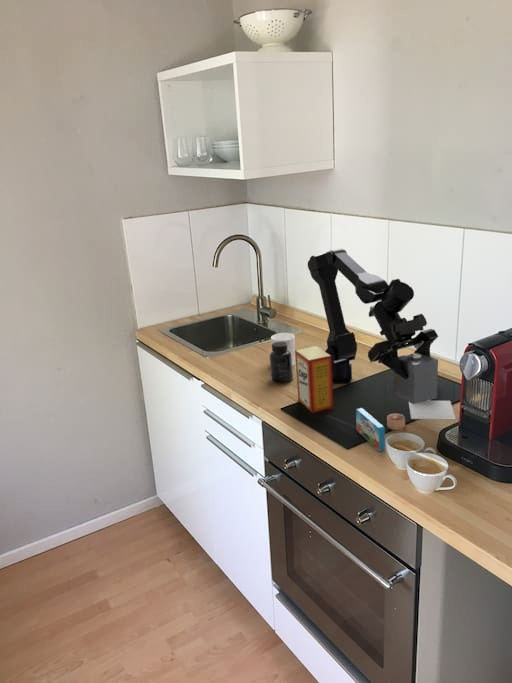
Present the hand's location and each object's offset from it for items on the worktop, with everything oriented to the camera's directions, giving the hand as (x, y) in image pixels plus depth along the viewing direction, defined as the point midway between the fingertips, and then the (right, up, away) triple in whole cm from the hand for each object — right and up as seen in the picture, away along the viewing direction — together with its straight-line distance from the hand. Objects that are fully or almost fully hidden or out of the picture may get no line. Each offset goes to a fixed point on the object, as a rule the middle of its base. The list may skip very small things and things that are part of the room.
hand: (418, 374), depth 143 cm
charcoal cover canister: (0, -6, +3) cm, 6 cm away
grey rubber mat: (+6, -10, +10) cm, 16 cm away
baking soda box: (-24, -10, +20) cm, 32 cm away
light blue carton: (-12, -16, -2) cm, 20 cm away
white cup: (-31, 0, +51) cm, 59 cm away
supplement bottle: (-32, -4, +39) cm, 50 cm away
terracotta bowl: (-5, -14, +3) cm, 15 cm away
